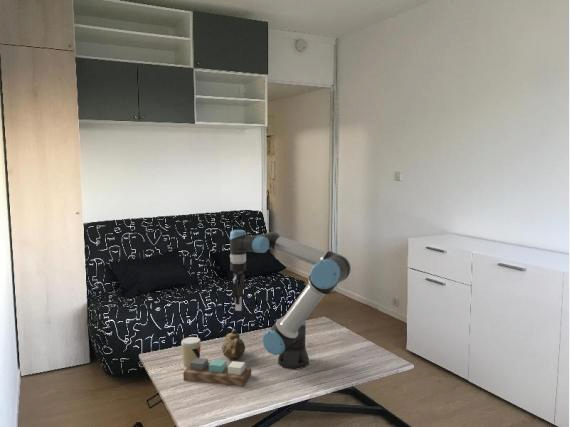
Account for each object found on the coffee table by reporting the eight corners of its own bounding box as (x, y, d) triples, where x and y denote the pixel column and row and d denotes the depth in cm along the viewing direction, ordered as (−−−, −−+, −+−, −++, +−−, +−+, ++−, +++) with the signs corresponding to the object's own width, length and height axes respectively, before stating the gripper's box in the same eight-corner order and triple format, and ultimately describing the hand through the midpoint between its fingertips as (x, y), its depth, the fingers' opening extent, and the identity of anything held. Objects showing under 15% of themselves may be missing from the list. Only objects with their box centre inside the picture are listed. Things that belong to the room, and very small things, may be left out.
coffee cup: (196, 368, 223) (196, 344, 222) (178, 367, 225) (177, 343, 224) (204, 361, 232) (203, 337, 231) (186, 359, 234) (185, 336, 233)
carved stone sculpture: (218, 352, 243) (218, 323, 242) (240, 349, 247) (240, 321, 245) (226, 368, 223) (226, 338, 222) (250, 365, 227) (250, 335, 225)
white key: (244, 373, 214) (244, 362, 213) (240, 378, 208) (240, 368, 207) (232, 371, 215) (232, 361, 214) (227, 377, 209) (227, 366, 209)
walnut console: (251, 375, 216) (251, 366, 216) (242, 387, 205) (242, 378, 204) (194, 369, 223) (194, 361, 222) (183, 380, 211) (183, 371, 211)
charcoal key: (207, 369, 218) (207, 358, 217) (202, 374, 212) (202, 364, 211) (195, 367, 219) (195, 357, 219) (190, 373, 213) (190, 362, 213)
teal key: (226, 371, 216) (226, 360, 215) (221, 376, 210) (221, 366, 209) (214, 369, 217) (213, 359, 217) (209, 375, 211) (208, 364, 211)
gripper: (235, 259, 232) (235, 305, 235) (225, 264, 220) (226, 313, 222) (249, 260, 231) (250, 306, 233) (241, 265, 218) (241, 314, 220)
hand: (238, 310), depth 228 cm, fingers closed
